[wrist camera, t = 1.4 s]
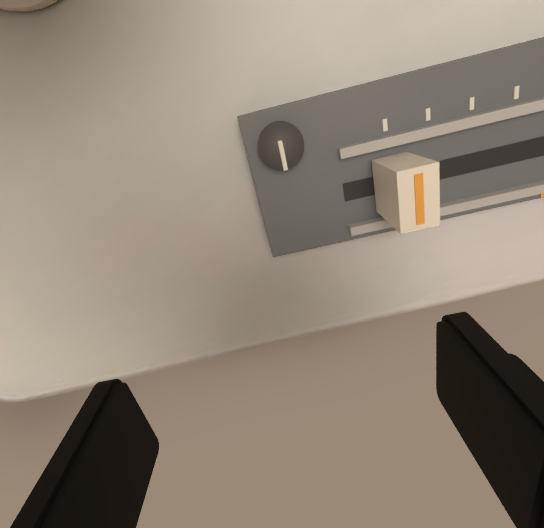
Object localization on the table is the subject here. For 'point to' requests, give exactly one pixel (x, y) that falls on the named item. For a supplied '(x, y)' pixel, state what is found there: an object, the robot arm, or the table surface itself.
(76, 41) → the table surface
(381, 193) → the fader
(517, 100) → the console
